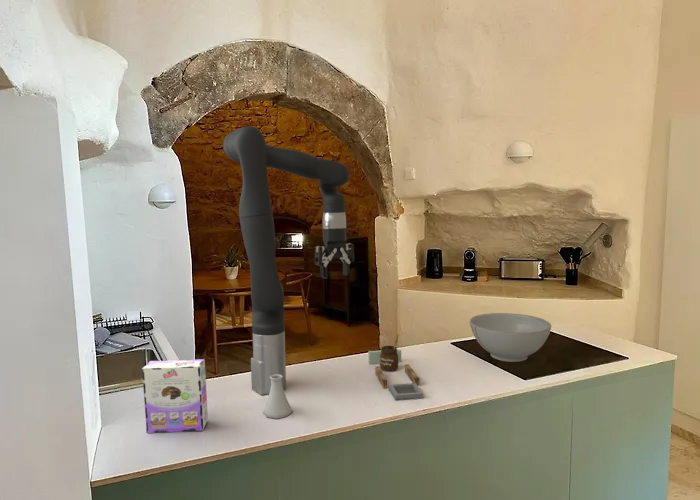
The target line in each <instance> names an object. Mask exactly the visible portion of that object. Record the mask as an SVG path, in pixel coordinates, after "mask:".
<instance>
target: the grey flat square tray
mask: <svg viewBox="0 0 700 500" xmlns="http://www.w3.org/2000/svg"><path fill="white" fill-rule="evenodd" d="M388 391H389V393H390V394H391V395H392V397H393V399H394V401H404V400H406V401H407V400H416V399H424V392H423V391H422V390H421V387H420V386H417V384H416V383H413V382H410V383H409V382H407V383H395V384H388Z"/></svg>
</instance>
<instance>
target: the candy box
mask: <svg viewBox="0 0 700 500" xmlns="http://www.w3.org/2000/svg"><path fill="white" fill-rule="evenodd" d="M141 373H142V386H143V399H144V401H143V402H144V411H145V412H144V414H145V429H146V430H145V432H146V434H155V433H177V432H178V433H181V432H202V431H203V430H204V429H205V428H206V426H207V424H208V422H209V413H208V399H207V398H208V397H207V396H208V395H207V393H208V392H207V378H206V360H205V358H203V359H199V358H198V359H178V360H177V359H176V360H150V361H149V362H148V363H146V365H144V366H143V367H142V368H141Z"/></svg>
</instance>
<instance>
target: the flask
mask: <svg viewBox="0 0 700 500" xmlns="http://www.w3.org/2000/svg"><path fill="white" fill-rule="evenodd" d="M270 379H271V389H270V393H269V394H268V397H267V400H266V401H265V405H264V409H263V410H262V414H263V415H264V416H265V418H270V419H276V420H277V419H282V418H285V417H288V416H289V415H290V414H292V412H293V410H292V406H291V405H290V402H289V401H288V399H287V395H286V394H285V390H283V386H282V379H283V376H282V375H278V374H276V375H272V376H270Z"/></svg>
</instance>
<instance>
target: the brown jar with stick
mask: <svg viewBox="0 0 700 500" xmlns="http://www.w3.org/2000/svg"><path fill="white" fill-rule="evenodd" d="M399 336H400V333H398V334H396V336H395V338H394V342H393V343H394V346H393V345H386V343H387V342H388V341H389V338H388V336H387V335H386V334H384V335H381V336H380V338H381V339H380V341H381V342H380V343H381V345H382V346H381V348H380V350H381V354H380V364H379V367H380V369H381V370H382V372H383V371H384V372H388V373H389V372H390V373H391V372H395V371H398V369H399V362H398V354H397V349H398V348H397V347H396V345H397V343H398V341H399ZM385 338H386V339H385ZM385 340H386V341H385ZM383 341H384V342H383Z"/></svg>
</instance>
